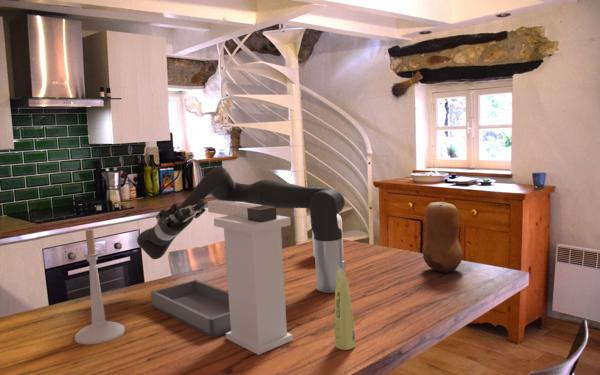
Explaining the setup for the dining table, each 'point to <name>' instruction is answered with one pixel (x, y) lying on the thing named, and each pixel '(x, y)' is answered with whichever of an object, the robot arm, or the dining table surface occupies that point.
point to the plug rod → (243, 210)
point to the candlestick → (96, 305)
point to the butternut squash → (442, 237)
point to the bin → (196, 306)
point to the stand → (255, 282)
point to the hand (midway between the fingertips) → (190, 203)
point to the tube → (343, 314)
